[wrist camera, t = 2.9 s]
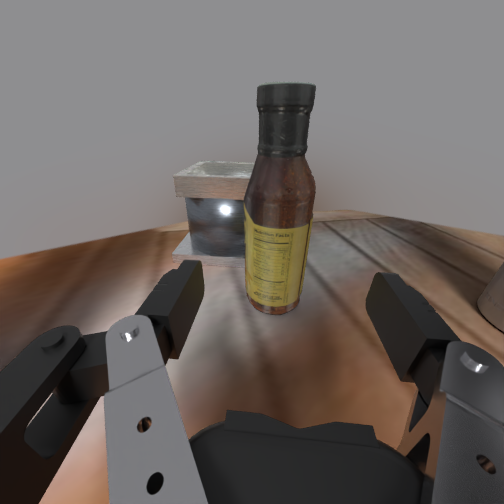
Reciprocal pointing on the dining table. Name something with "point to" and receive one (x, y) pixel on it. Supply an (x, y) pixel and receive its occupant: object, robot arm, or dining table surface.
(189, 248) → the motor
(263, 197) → the sauce bottle
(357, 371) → the dining table surface
